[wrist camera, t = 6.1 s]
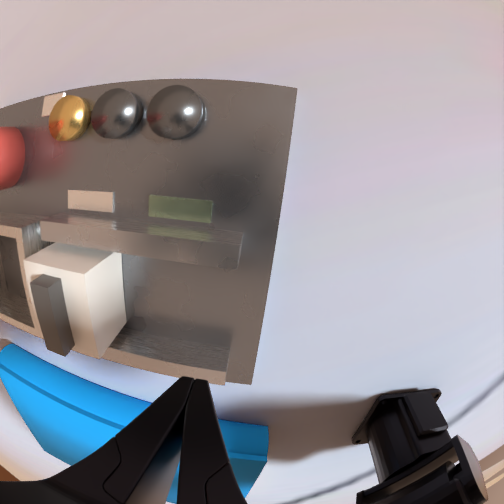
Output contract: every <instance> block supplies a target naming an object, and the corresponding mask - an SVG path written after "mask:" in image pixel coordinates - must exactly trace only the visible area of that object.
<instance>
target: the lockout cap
mask: <svg viewBox="0 0 504 504" xmlns="http://www.w3.org/2000/svg"><path fill="white" fill-rule="evenodd" d="M24 162H25V143H24V139H23V136H22V134H21V132H20V131H19V129H17V128H16V127H0V190H4V189H8V188H11V187H13V186H14V185H15V184H16V183H17V182H18V180H19V178H20V176H21V174H22V171H23V167H24Z"/></svg>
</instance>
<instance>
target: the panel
mask: <svg viewBox="0 0 504 504" xmlns="http://www.w3.org/2000/svg"><path fill="white" fill-rule="evenodd" d="M296 95H297V88H292V87H286V86H279V85H272V84H264V83H255V82H244V81H231V80H213V79H159V80H142V81H129V82H119V83H110V84H103V85H96V86H89V87H83V88H78V89H72V90H67V91H62V92H58V93H53V94H49V95H45V96H41V97H37V98H33V99H30V100H26V101H23V102H19V103H16V104H13V105H10V106H7V107H4V108H1V109H0V127H16V128H17V129H19V131H20V132H21V134H22V136H23V139H24V143H25V162H24V167H23V171H22V174H21V176H20V178H19V180H18V182H17V183H16V184H15V185H14V186H13V187H11V188H8V189H4V190H0V319H1V320H3V321H5V322H7V323H9V324H11V325H13V326H15V327H17V328H19V329H21V330H24V331H26V332H28V333H30V334H33V335H35V336H37V337H40V338H41V335H40V332H39V328H38V325H37V321H36V318H35V314H34V310H33V306H32V302H31V298H30V294H29V289H28V284H27V279H26V274H25V268H24V262H23V260H24V259H26V258H27V257H29V256H31V255H33V254H35V253H37V252H38V251H40V250H42V249H44V248H46V247H48V246H50V245H51V244H53V243H61V244H67V245H73V246H79V247H85V248H91V249H97V250H103V251H110V252H116V253H121V256H122V275H123V289H124V301H125V311H126V320H127V322H126V324H125V325H124V326H123V328H122V329H121V331H120V332H119V333H118V335H117V336H116V337H115V339H114V340H113V341H112V343H111V344H110V346H109V347H108V348H107V350H106V351H105V353H104V354H103V355H102V357H101V358H103V359H107V360H110V361H113V362H117V363H120V364H124V365H127V366H131V367H135V368H139V369H143V370H147V371H151V372H155V373H160V374H164V375H169V376H173V377H178V378H180V377H182V376H187V377H192V378H194V379H197V378H198V379H204V380H207V381H208V383H212V384H218V385H225V382H233V383H240V384H249V385H251V383H252V378H253V373H254V367H255V362H256V356H257V351H258V345H259V340H260V334H261V328H262V323H263V317H264V311H265V305H266V299H267V293H268V288H269V281H270V275H271V269H272V263H273V257H274V251H275V244H276V238H277V231H278V225H279V218H280V212H281V205H282V198H283V192H284V185H285V178H286V171H287V164H288V156H289V149H290V142H291V134H292V127H293V119H294V111H295V103H296Z"/></svg>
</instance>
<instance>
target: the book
mask: <svg viewBox="0 0 504 504" xmlns="http://www.w3.org/2000/svg"><path fill="white" fill-rule="evenodd" d="M0 378H1V380H2V382H3V384H4V386H5V388H6V390H7V392H8V393H9V395H10V397H11V399H12V401H13V403H14V404H15V406H16V408H17V410H18V411H19V413H20V415H21V416H22V418H23V420H24V421H25V423H26V425H27V426H28V428H29V429H30V431H31V432H32V434H33V435H34V437H35V438H36V440H37V441H38V443H39V444H40V445H41V447H42V448H43V450H44V451H46V452H47V453H49V454H51V455H53V456H54V457H56V458H58V459H60V460H62V461H63V462H65V463H67V464H69V465H71V466H72V465H74V464H76V463H77V462H79V461H81V460H82V459H84V458H85V457H87V456H89V455H90V454H92V453H93V452H95V451H96V450H97V449H99V448H100V447H101V446H103V445H104V444H105V443H106V442H108V441H109V440H110V439H111V438H112V437H115V435H116V434H117V433H118V432H120V431H121V430H122V429H123V428H124V427H125V426H127V425H128V424H129V423H130V422H131V421H132V420H134V419H135V418H136V417H137V416H138V415H139V414H140V413H142V412H143V411H144V410H145V409H146V408H147V407H148V406H150V405H151V404H152V403H149V402H146V401H143V400H139V399H136V398H133V397H130V396H127V395H124V394H121V393H118V392H116V391H113V390H110V389H107V388H105V387H102V386H99V385H97V384H94V383H92V382H89V381H87V380H85V379H82V378H80V377H78V376H75V375H73V374H71V373H69V372H66V371H64V370H62V369H60V368H58V367H56V366H54V365H52V364H50V363H48V362H46V361H44V360H42V359H40V358H38V357H36V356H34V355H32V354H31V353H29V352H27V351H25V350H23V349H22V348H20V347H18V346H16V345H15V344H9V345H7V346H5V347H4V348H3V349H2V350H1V352H0ZM218 422H219V425H220V429H221V433H222V436H223V440H224V443H225V446H226V450H227V453H228V457H229V460H230V464H231V466H232V469H233V472H234V475H235V478H236V480H237V483H238V486H239V488H240V490H241V492H242V494H243V496H244V498H245V497H246V496H247V494H248V493H249V491H250V489H251V488H252V486H253V484H254V483H255V481H256V480H257V478H258V476H259V475H260V473H261V471H262V469H263V468H264V466H265V464H266V463H267V454H268V444H269V432H268V426H263V425H254V424H247V423H240V422H233V421H227V420H221V419H218ZM179 464H180V461H179ZM179 464H178V467H177V470H176V473H175V476H174V479H173V482H172V485H171V488H170V491H169V494H168V496H167V499H166V501H167V502H171V503H175V504H177V489H178V476H179Z"/></svg>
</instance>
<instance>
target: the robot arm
mask: <svg viewBox="0 0 504 504" xmlns="http://www.w3.org/2000/svg"><path fill="white" fill-rule="evenodd" d="M440 396H441V391H440V390H439V389H434V390H427V391H419V392H410V393H400V394H388V395H382V396H380V397H379V398H378V399H377V400H376V402H375V404H374V405H373V407H372V409H371V410H370V412H369V414H368V415H367V417H366V418H365V420H364V422H363V423H362V425H361V426H360V428H359V429H358V431H357V432H356V434H355V435H354V437H353V438H352V443H353V444H365V443H368V444H369V448H370V451H371V455H372V458H373V462H374V466H375V469H376V473H377V477H378V481H379V484H378V485H376V486H374V487H372V488H370V489H367V490H363V491H361V492H358V493H357V497H356V504H483V503H484V502H486V501H487V500H488V495H487V490H486V486H485V482H484V478H483V474H482V471H481V467H480V464H479V461H478V459H477V457H476V456H475V454H474V452H473V450H472V448H471V446H470V445H469V444H468V443H467V442H466V441H465V440H463V439H462V438H461V437H460V436H458V435H456V436H455V437H453V438H452V439H451V437H450V435H449V433H448V431H447V428H448V424H447V422H446V420H445V419H444V417H443V415H442V413H441V411H440V409H439V407H438V406H437V404H436V402H437V400H438V399H439V397H440ZM458 460H459V462H460V463H459V464H457V465H456V466H455V465H454V463H455V462H457V461H458ZM179 461H180V464H179ZM178 464H179V476H178V489H177V504H247V502H246V500H245V498H244V496H243V494H242V492H241V490H240V488H239V486H238V483H237V480H236V478H235V475H234V472H233V469H232V466H231V464H230V460H229V457H228V453H227V450H226V446H225V443H224V440H223V436H222V433H221V429H220V425H219V422H218V418H217V414H216V411H215V407H214V403H213V399H212V395H211V391H210V387H209V383H208V381H207V380H204V379H198V378H197V379H194V378H192V377H187V376H182V377H180V378H179V379H178V380H177V381H176V382H175V383H174V384H173V385H172V386H171V387H170V388H168V389H167V390H166V391H165V392H164V393H163V394H162V395H161V396H160V397H158V398H157V399H156V400H155V401H154V402H153V403H152V404H151V405H150V406H148V407H147V408H146V409H145V410H144V411H143V412H142V413H140V414H139V415H138V416H137V417H136V418H135V419H134V420H132V421H131V422H130V423H129V424H128V425H127V426H125V427H124V428H123V429H122V430H121V431H120V432H118V433H117V434H116V435H115V437H112V438H111V439H110V440H109V441H108V442H106V443H105V444H104V445H103V446H101V447H100V448H99V449H97V450H96V451H95V452H93V453H92V454H90V455H89V456H87V457H85V458H84V459H82V460H81V461H79V462H77V463H76V464H74V465H72V466H70V467H69V468H67V469H65V470H63V471H61V472H60V473H58V474H56V475H54V476H52V477H50V478H47V479H43V480H39V481H20V482H19V481H15V482H14V481H0V504H165V502H166V499H167V496H168V494H169V491H170V488H171V485H172V482H173V479H174V476H175V473H176V470H177V467H178Z"/></svg>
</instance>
